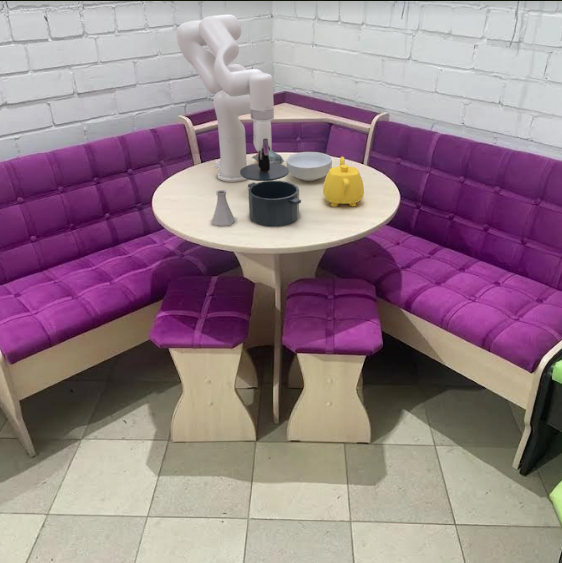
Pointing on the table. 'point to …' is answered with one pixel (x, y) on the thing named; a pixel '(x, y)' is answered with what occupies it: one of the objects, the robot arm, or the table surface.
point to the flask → (222, 210)
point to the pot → (273, 203)
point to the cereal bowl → (309, 165)
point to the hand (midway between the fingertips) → (264, 168)
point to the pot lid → (264, 172)
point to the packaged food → (271, 157)
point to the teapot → (343, 185)
